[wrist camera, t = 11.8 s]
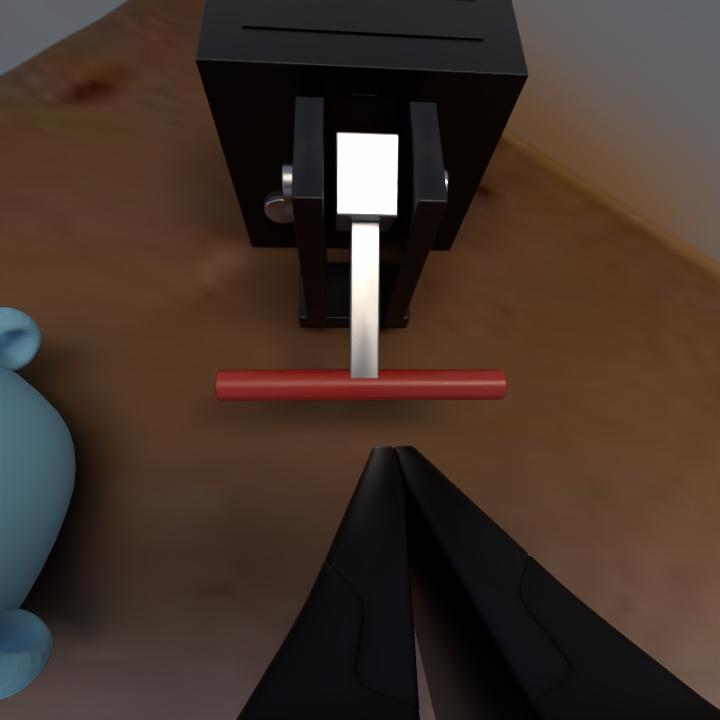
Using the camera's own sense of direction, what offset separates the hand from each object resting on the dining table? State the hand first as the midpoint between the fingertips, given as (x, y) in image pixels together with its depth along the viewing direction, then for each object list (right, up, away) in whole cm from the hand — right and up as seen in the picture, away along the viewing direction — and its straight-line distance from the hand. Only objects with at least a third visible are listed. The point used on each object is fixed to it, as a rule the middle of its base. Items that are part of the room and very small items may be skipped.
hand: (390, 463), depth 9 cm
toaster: (-1, +12, +18) cm, 22 cm away
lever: (-1, +5, +8) cm, 10 cm away
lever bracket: (-1, +6, +15) cm, 16 cm away
